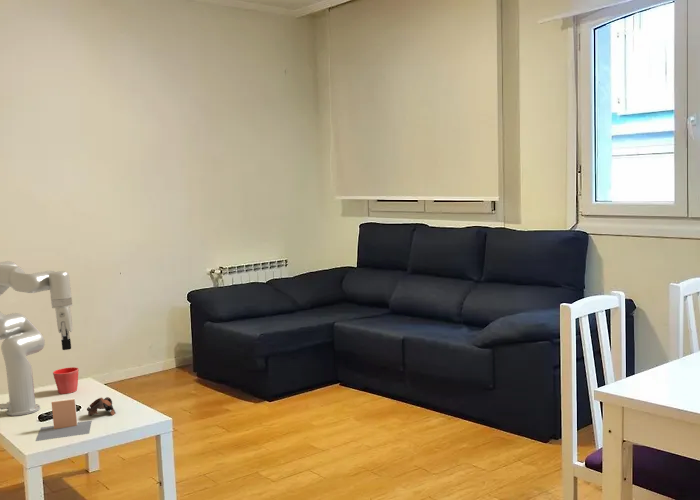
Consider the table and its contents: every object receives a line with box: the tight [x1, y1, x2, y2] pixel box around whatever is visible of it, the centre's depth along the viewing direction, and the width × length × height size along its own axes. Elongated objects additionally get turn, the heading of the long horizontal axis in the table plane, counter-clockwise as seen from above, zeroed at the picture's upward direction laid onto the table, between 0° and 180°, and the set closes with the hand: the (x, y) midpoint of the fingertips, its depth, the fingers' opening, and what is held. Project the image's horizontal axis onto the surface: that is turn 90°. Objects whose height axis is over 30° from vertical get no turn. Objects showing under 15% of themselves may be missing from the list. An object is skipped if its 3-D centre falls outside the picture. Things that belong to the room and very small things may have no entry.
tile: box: [51, 397, 78, 429], centre depth 276 cm, size 8×2×10 cm, turn 106°
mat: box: [35, 420, 92, 442], centre depth 272 cm, size 18×16×1 cm
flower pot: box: [52, 366, 79, 395], centre depth 329 cm, size 11×11×10 cm
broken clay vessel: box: [86, 396, 117, 417], centre depth 290 cm, size 12×10×8 cm
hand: (66, 349), depth 290 cm, fingers closed
